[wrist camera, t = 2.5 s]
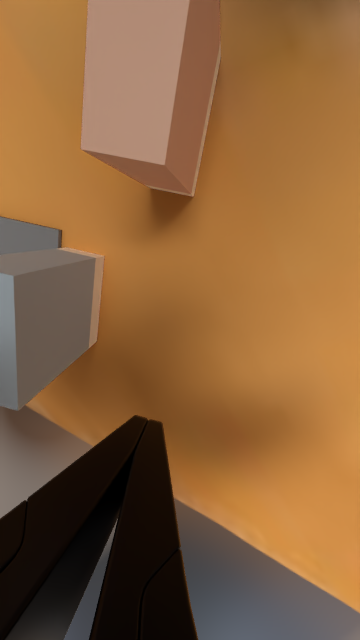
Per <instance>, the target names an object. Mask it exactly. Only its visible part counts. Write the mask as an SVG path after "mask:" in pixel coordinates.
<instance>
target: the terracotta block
mask: <svg viewBox="0 0 360 640" xmlns="http://www.w3.org/2000/svg"><path fill="white" fill-rule="evenodd" d="M220 60H221V35H220V0H88V14H87V34H86V54H85V74H84V94H83V114H82V134H81V150H83V151H85V152H87V153H89V154H90V155H92V156H94V157H96V158H97V159H99V160H101V161H103V162H105V163H106V164H108V165H110V166H112V167H113V168H115V169H117V170H119V171H121V172H122V173H124V174H126V175H128V176H130V177H131V178H133V179H135V180H137V181H138V182H140V183H142V184H144V185H146V186H147V187H149V188H152V189H157V190H162V191H167V192H172V193H177V194H182V195H187V196H192V197H194V193H195V188H196V183H197V178H198V173H199V168H200V163H201V157H202V152H203V147H204V142H205V137H206V132H207V127H208V122H209V116H210V111H211V106H212V101H213V96H214V91H215V86H216V81H217V75H218V70H219V65H220Z"/></svg>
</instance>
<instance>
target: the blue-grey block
mask: <svg viewBox="0 0 360 640" xmlns="http://www.w3.org/2000/svg"><path fill="white" fill-rule="evenodd" d="M104 257H105V256H103V255H98V254H94V253H90V252H85V251H81V250H76V249H72V248H68V247H66V248H57V249H48V250H39V251H31V252H22V253H13V254H4V255H0V406H3V407H6V408H10V409H13V410H17V411H18V410H20V409H21V408H22V407H23V406H24V405H25V404H26V403H28V402H29V401H30V400H31V399H32V398H33V397H34V396H36V395H37V394H38V393H39V392H40V391H41V390H42V389H43V388H45V387H46V386H47V385H48V384H49V383H50V382H51V381H53V380H54V379H55V378H56V377H57V376H58V375H59V374H61V373H62V372H63V371H64V370H65V369H66V368H67V367H68V366H70V365H71V364H72V363H73V362H74V361H75V360H76V359H78V358H79V357H80V356H81V355H82V354H83V353H84V352H85V351H87V350H88V349H89V348H90V347H91V346H92V345H93V344H95V343H96V342H97V335H98V324H99V312H100V301H101V290H102V279H103V268H104Z"/></svg>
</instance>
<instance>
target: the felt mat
mask: <svg viewBox="0 0 360 640" xmlns="http://www.w3.org/2000/svg"><path fill="white" fill-rule="evenodd" d="M57 248H61V230H59V229H54V228H50V227H45V226H41V225H36V224H32V223H27V222H23V221H18V220H14V219H9V218H5V217H0V255H4V254H13V253H22V252H31V251H39V250H48V249H57Z"/></svg>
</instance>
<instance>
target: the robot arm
mask: <svg viewBox="0 0 360 640" xmlns="http://www.w3.org/2000/svg"><path fill="white" fill-rule="evenodd" d="M117 519H118V521H117ZM116 521H117V525H116V529H115V533H114V538H113V542H112V546H111V550H110V554H109V558H108V563H107V566H106V571H105V575H104V579H103V583H102V587H101V591H100V596H99V600H98V604H97V608H96V612H95V617H94V621H93V625H92V629H91V633H90V637H89V640H198V636H197V632H196V627H195V623H194V618H193V614H192V609H191V604H190V599H189V593H188V587H187V581H186V576H185V570H184V563H183V556H182V551H181V550H180V547H181V544H180V537H179V531H178V524H177V518H176V511H175V504H174V497H173V490H172V484H171V477H170V470H169V463H168V457H167V450H166V443H165V436H164V430H163V424H162V423H161V422H159V421H155V420H152V419H150V420H149V421H148V419H147V418H145V417H141V416H137V415H135V416H133V417H132V418H131V419H129V420H128V421H127V422H125V423H124V424H123V425H122V426H120V427H119V428H118V429H116V430H115V431H114V432H113V433H111V434H110V435H109V436H107V437H106V438H105V439H103V440H102V441H101V442H100V443H98V444H97V445H96V446H94V447H93V448H92V449H90V450H89V451H88V452H87V453H86V454H84V455H83V456H81V457H80V458H79V459H78V460H76V461H75V462H74V463H72V464H71V465H70V466H68V467H67V468H66V469H65V470H63V471H62V472H61V473H60V474H58V475H57V476H56V477H54V478H53V479H52V480H51V481H49V482H48V483H47V484H45V485H44V486H43V487H41V488H40V489H39V490H37V491H36V492H35V493H33V494H32V495H31V496H30V497H29V498H28V499H27V501H26V500H24V501H23V502H21V503H20V504H19V505H18V506H16V507H15V508H14V509H12V510H11V511H10V512H9V513H7V514H6V515H5V516H3V517H2V518H1V519H0V640H64V638H65V635H66V633H67V631H68V629H69V626H70V624H71V622H72V619H73V617H74V615H75V613H76V611H77V608H78V606H79V604H80V602H81V599H82V597H83V595H84V593H85V590H86V588H87V586H88V584H89V582H90V579H91V577H92V575H93V573H94V570H95V568H96V566H97V563H98V561H99V559H100V557H101V555H102V552H103V550H104V548H105V546H106V543H107V541H108V539H109V536H110V534H111V532H112V530H113V528H114V525H115V523H116Z"/></svg>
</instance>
